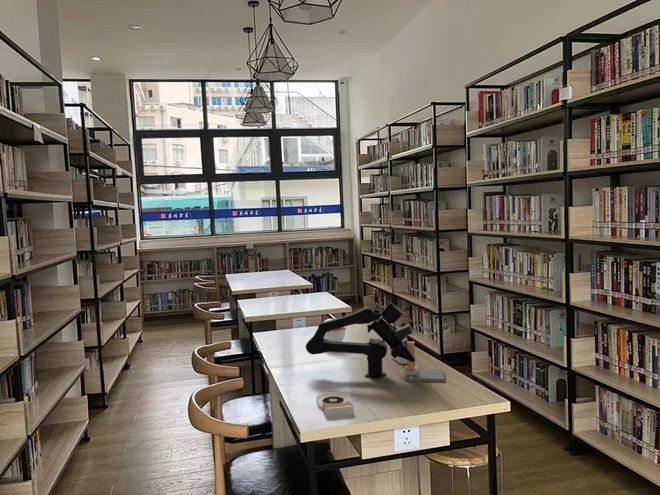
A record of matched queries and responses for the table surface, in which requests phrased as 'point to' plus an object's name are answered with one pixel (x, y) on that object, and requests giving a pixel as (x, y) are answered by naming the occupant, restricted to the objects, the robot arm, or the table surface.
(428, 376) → the track board
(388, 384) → the table surface
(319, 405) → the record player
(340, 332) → the white piece
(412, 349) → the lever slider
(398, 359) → the photo printer
